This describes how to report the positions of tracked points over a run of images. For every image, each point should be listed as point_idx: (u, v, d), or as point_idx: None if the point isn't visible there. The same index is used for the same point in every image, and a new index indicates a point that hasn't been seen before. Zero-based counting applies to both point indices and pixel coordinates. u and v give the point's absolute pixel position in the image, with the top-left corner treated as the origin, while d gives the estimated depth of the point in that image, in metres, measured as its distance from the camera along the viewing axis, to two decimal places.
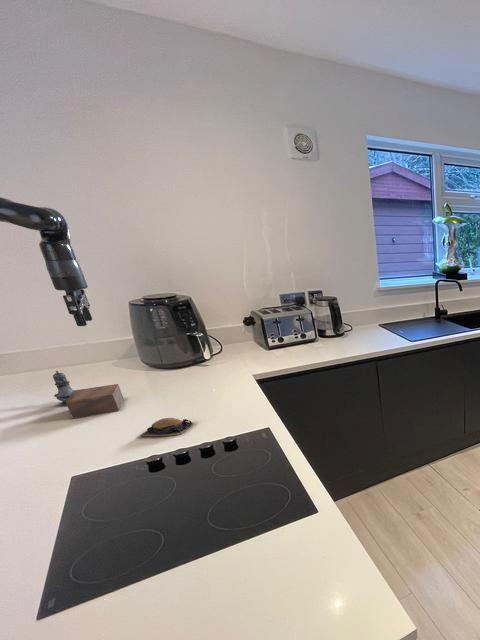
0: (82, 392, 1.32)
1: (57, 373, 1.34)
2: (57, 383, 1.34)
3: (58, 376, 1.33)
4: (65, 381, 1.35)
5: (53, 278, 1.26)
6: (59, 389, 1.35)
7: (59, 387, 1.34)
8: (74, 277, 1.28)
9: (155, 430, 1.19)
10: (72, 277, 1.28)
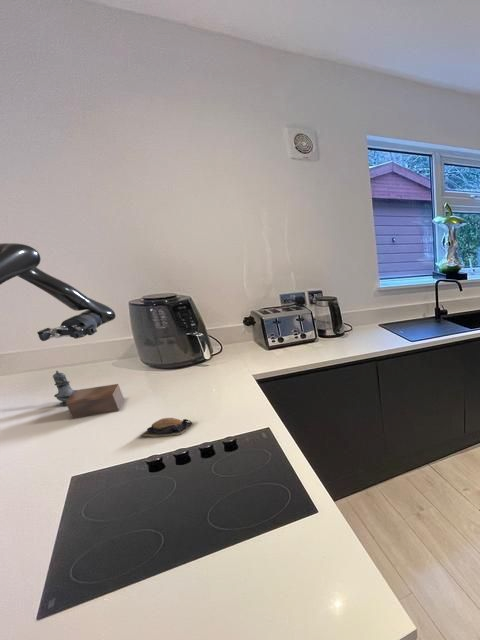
0: (82, 392, 1.32)
1: (57, 373, 1.34)
2: (57, 383, 1.34)
3: (58, 376, 1.33)
4: (65, 381, 1.35)
5: (85, 319, 1.54)
6: (59, 389, 1.35)
7: (59, 387, 1.34)
8: None
9: (155, 430, 1.19)
10: None
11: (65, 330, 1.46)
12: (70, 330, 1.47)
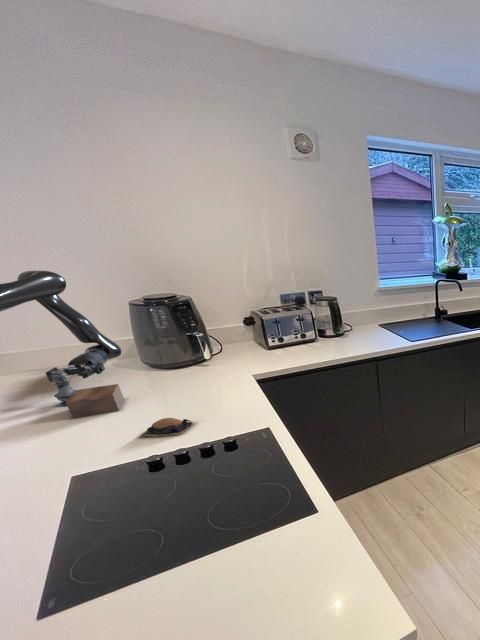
0: (82, 392, 1.32)
1: (57, 373, 1.34)
2: (57, 383, 1.34)
3: (58, 376, 1.33)
4: (65, 381, 1.35)
5: (92, 357, 1.54)
6: (59, 389, 1.35)
7: (59, 387, 1.34)
8: None
9: (155, 430, 1.19)
10: None
11: (73, 369, 1.46)
12: (78, 369, 1.47)
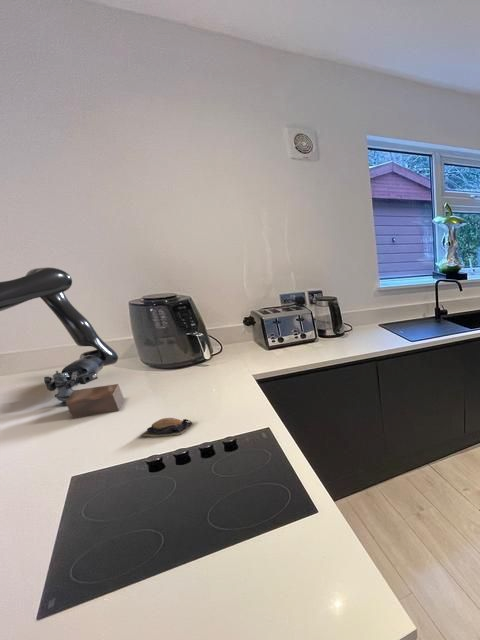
0: (82, 392, 1.32)
1: (57, 373, 1.34)
2: (57, 383, 1.34)
3: (58, 376, 1.33)
4: (65, 381, 1.35)
5: (87, 364, 1.47)
6: (59, 389, 1.35)
7: (59, 387, 1.34)
8: None
9: (155, 430, 1.19)
10: None
11: (66, 378, 1.39)
12: (72, 377, 1.39)
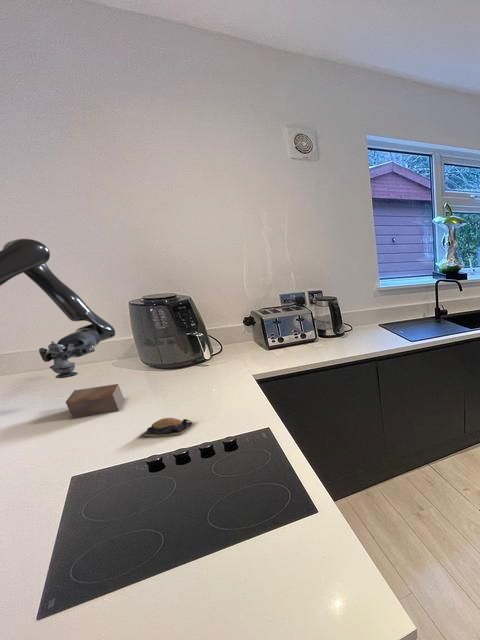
0: (82, 392, 1.32)
1: (52, 343, 1.29)
2: (53, 354, 1.29)
3: (54, 347, 1.29)
4: (61, 352, 1.30)
5: (83, 336, 1.42)
6: (55, 360, 1.30)
7: (55, 358, 1.30)
8: None
9: (155, 430, 1.19)
10: None
11: (62, 349, 1.34)
12: (68, 349, 1.34)
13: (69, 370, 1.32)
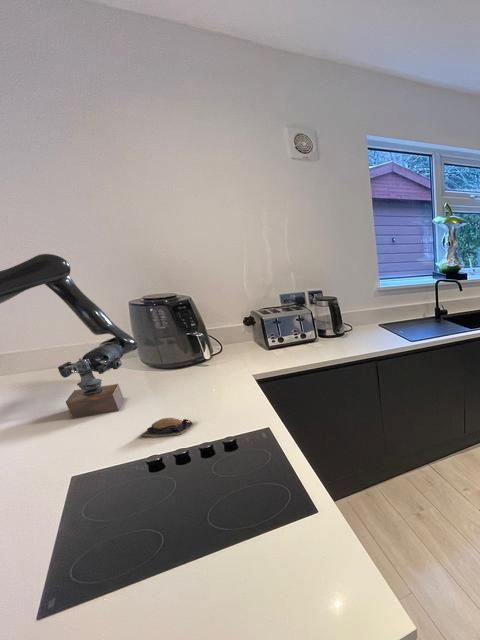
0: (82, 392, 1.32)
1: (80, 361, 1.28)
2: (80, 371, 1.28)
3: (81, 364, 1.28)
4: (88, 369, 1.30)
5: (108, 351, 1.41)
6: (82, 377, 1.29)
7: (82, 375, 1.29)
8: None
9: (155, 430, 1.19)
10: None
11: None
12: (93, 364, 1.33)
13: (96, 387, 1.31)
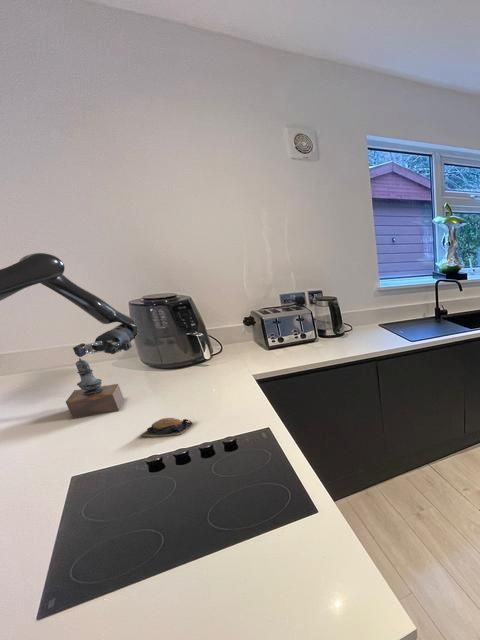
0: (82, 392, 1.32)
1: (80, 361, 1.28)
2: (80, 371, 1.28)
3: (81, 364, 1.28)
4: (88, 369, 1.30)
5: (119, 334, 1.50)
6: (82, 377, 1.29)
7: (82, 375, 1.29)
8: None
9: (155, 430, 1.19)
10: None
11: (101, 345, 1.42)
12: (106, 345, 1.43)
13: (96, 387, 1.31)
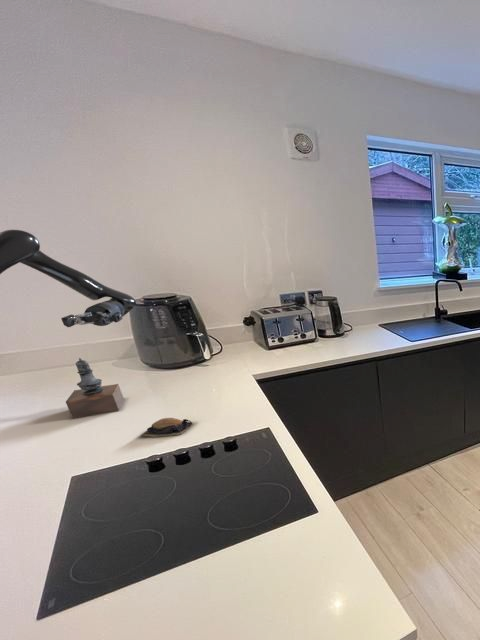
0: (82, 392, 1.32)
1: (80, 361, 1.28)
2: (80, 371, 1.28)
3: (81, 364, 1.28)
4: (88, 369, 1.30)
5: (109, 306, 1.47)
6: (82, 377, 1.29)
7: (82, 375, 1.29)
8: None
9: (155, 430, 1.19)
10: None
11: (90, 317, 1.39)
12: (95, 317, 1.39)
13: (96, 387, 1.31)
